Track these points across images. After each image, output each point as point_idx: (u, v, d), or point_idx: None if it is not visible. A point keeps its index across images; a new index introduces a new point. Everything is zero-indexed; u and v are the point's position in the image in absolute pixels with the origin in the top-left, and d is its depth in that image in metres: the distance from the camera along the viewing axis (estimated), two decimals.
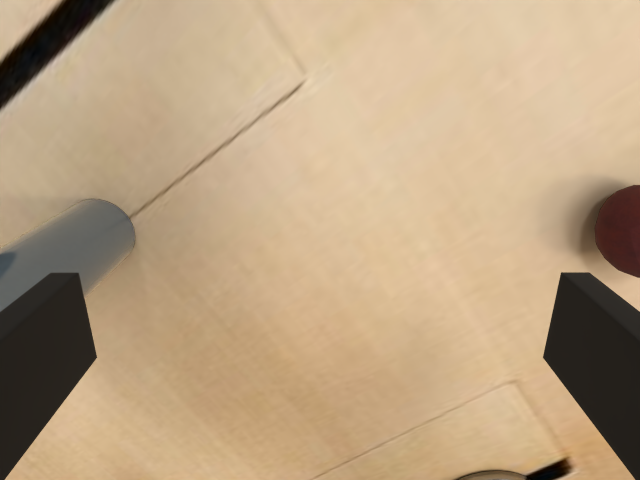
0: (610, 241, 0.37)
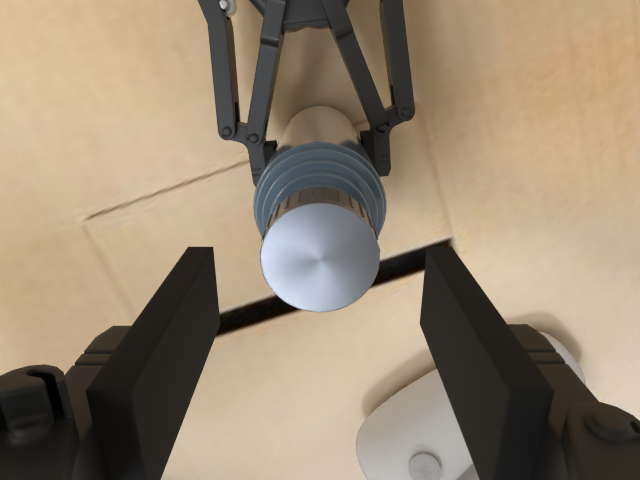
0: None
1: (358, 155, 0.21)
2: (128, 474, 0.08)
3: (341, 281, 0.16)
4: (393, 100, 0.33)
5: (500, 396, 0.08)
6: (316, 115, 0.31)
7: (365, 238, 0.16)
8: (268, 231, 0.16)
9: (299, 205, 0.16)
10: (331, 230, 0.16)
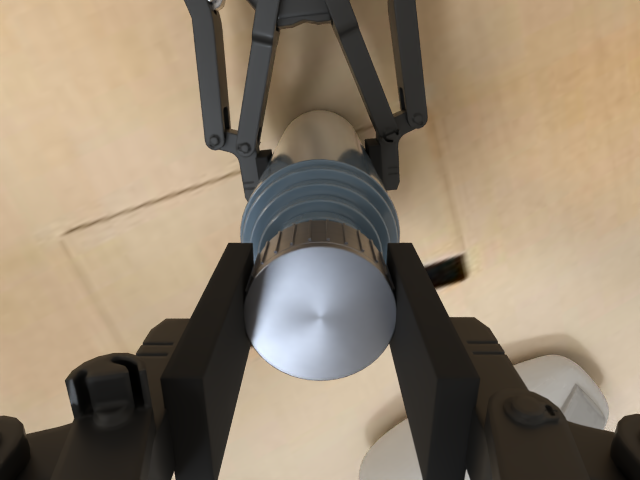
0: None
1: (366, 175, 0.17)
2: (196, 459, 0.09)
3: (347, 343, 0.13)
4: (402, 105, 0.29)
5: (432, 384, 0.08)
6: (316, 122, 0.28)
7: (379, 291, 0.12)
8: (253, 282, 0.12)
9: (293, 249, 0.12)
10: (335, 281, 0.12)
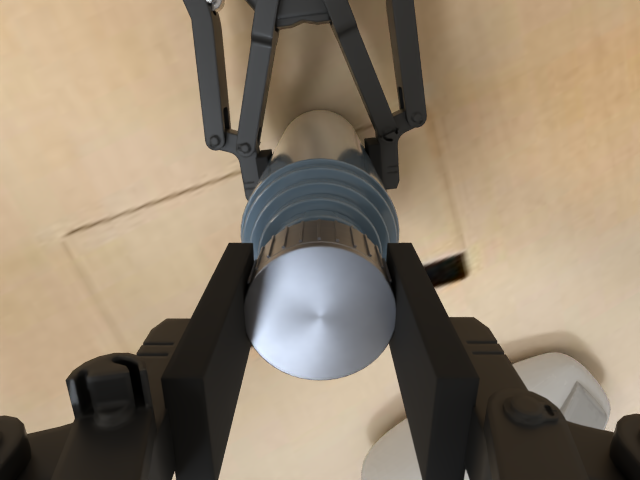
0: None
1: (365, 173, 0.17)
2: (196, 459, 0.09)
3: (337, 283, 0.12)
4: (401, 104, 0.29)
5: (431, 384, 0.08)
6: (315, 122, 0.28)
7: (268, 279, 0.12)
8: (309, 378, 0.13)
9: (265, 358, 0.13)
10: (276, 320, 0.13)
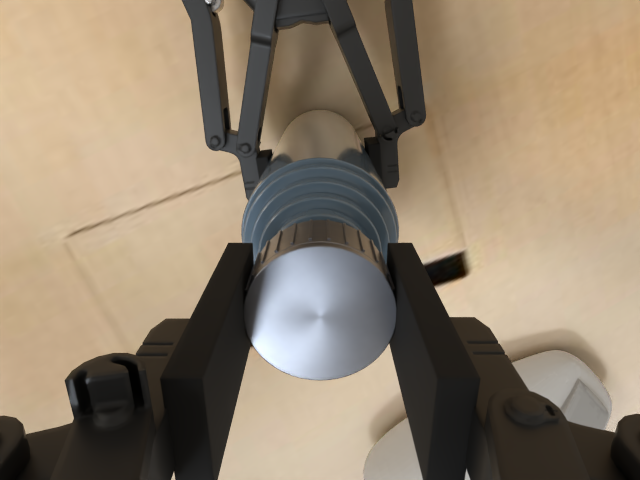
0: None
1: (365, 172, 0.17)
2: (195, 459, 0.09)
3: (278, 317, 0.13)
4: (401, 103, 0.30)
5: (432, 384, 0.08)
6: (315, 121, 0.28)
7: (302, 368, 0.13)
8: (394, 299, 0.12)
9: (387, 342, 0.13)
10: (339, 350, 0.13)
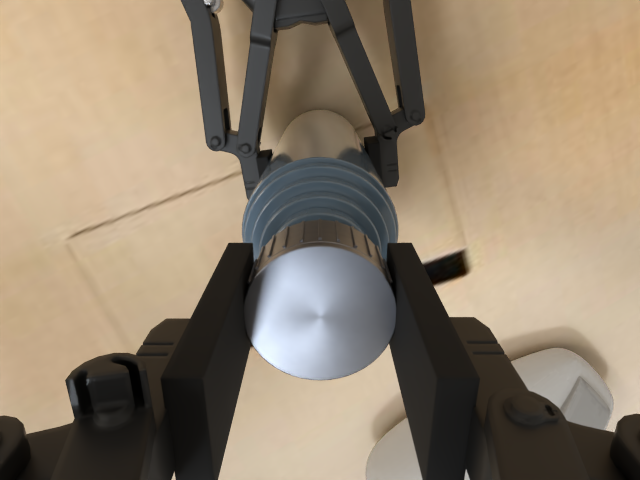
0: None
1: (364, 171, 0.18)
2: (196, 459, 0.09)
3: (335, 350, 0.13)
4: (400, 102, 0.30)
5: (432, 384, 0.08)
6: (315, 121, 0.28)
7: (385, 310, 0.12)
8: (270, 262, 0.12)
9: (322, 244, 0.12)
10: (349, 287, 0.12)
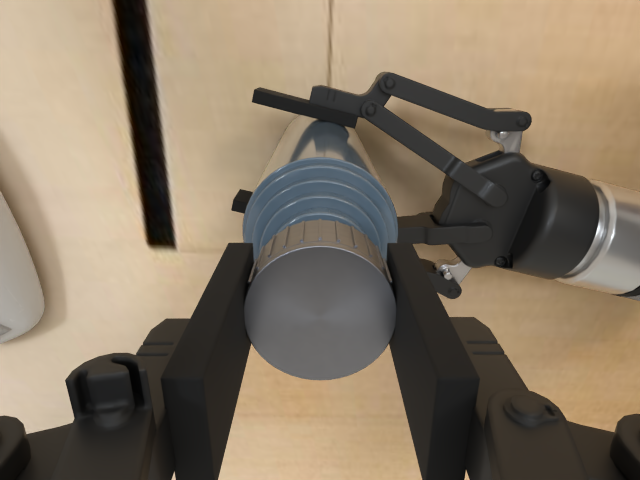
0: None
1: None
2: (196, 459, 0.09)
3: (335, 350, 0.13)
4: None
5: (432, 384, 0.08)
6: None
7: (385, 310, 0.12)
8: (271, 262, 0.12)
9: (322, 244, 0.12)
10: (349, 287, 0.12)
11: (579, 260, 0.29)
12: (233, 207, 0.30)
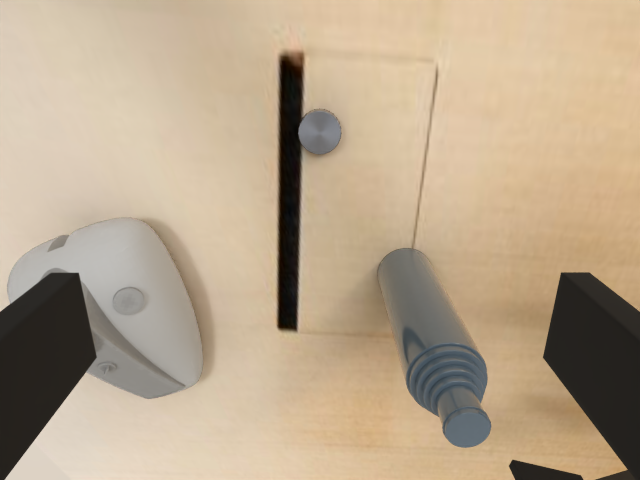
0: None
1: None
2: None
3: (324, 143, 0.46)
4: None
5: None
6: None
7: (337, 130, 0.46)
8: (306, 116, 0.45)
9: (320, 111, 0.45)
10: (327, 123, 0.45)
11: None
12: None
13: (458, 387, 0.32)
